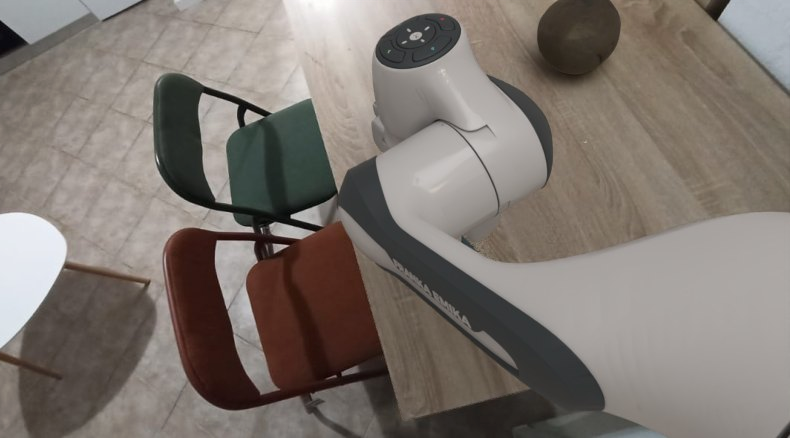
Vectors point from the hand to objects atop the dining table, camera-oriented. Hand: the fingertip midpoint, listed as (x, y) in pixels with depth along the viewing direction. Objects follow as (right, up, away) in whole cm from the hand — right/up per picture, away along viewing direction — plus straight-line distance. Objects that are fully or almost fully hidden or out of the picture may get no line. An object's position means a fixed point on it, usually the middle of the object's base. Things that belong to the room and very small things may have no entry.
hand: (432, 199), depth 61 cm
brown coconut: (+37, +30, +31) cm, 56 cm away
